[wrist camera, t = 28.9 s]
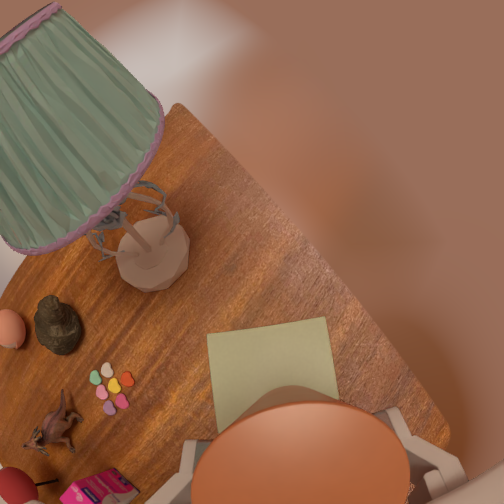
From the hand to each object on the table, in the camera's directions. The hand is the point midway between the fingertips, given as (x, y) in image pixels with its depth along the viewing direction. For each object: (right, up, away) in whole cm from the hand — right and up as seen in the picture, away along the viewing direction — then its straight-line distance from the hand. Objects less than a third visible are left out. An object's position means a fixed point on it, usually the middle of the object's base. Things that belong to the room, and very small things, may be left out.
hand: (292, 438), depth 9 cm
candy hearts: (-23, -14, +29) cm, 39 cm away
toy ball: (-47, -9, +34) cm, 59 cm away
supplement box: (-22, -30, +21) cm, 43 cm away
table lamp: (-17, +6, +37) cm, 42 cm away
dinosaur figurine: (-33, -23, +26) cm, 47 cm away
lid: (+1, -7, +21) cm, 22 cm away
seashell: (-36, -8, +33) cm, 49 cm away
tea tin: (+1, -3, +5) cm, 6 cm away
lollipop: (-37, -34, +21) cm, 55 cm away
